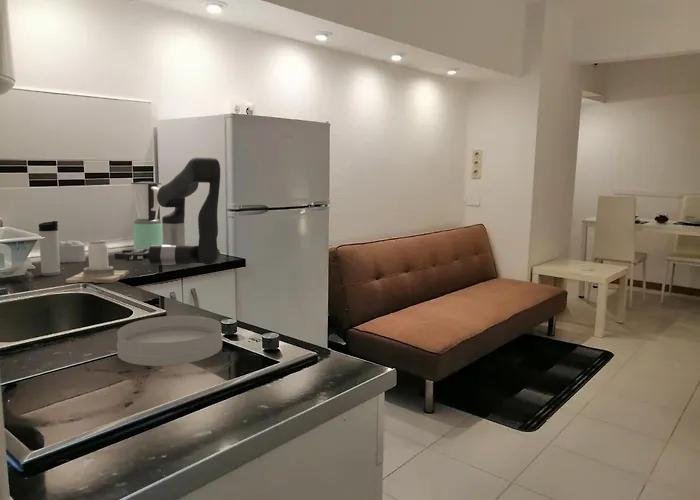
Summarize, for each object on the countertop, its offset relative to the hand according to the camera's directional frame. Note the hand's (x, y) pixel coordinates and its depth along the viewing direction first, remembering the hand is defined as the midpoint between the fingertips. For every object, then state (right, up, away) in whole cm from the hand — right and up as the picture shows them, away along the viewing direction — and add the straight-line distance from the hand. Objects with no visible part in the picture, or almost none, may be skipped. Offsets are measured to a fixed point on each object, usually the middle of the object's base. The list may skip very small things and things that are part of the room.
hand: (118, 254), depth 198 cm
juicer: (-12, 0, +63) cm, 64 cm away
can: (-7, -8, 0) cm, 11 cm away
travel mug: (-28, -8, +6) cm, 30 cm away
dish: (+45, -21, -79) cm, 93 cm away
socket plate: (-7, -9, 0) cm, 11 cm away
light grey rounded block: (-39, -3, +39) cm, 55 cm away
